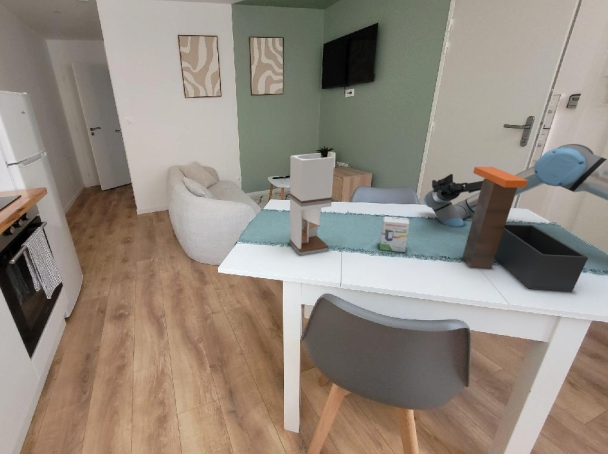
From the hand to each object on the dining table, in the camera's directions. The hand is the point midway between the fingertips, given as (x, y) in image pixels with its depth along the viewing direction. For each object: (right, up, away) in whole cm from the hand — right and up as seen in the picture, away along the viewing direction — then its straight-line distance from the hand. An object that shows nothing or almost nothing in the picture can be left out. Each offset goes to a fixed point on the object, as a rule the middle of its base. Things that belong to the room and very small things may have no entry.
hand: (473, 177), depth 100 cm
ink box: (-24, -25, +9) cm, 36 cm away
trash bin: (+10, -31, -8) cm, 33 cm away
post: (-2, -29, -3) cm, 30 cm away
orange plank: (-3, -3, -13) cm, 13 cm away
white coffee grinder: (-54, -25, +14) cm, 62 cm away
